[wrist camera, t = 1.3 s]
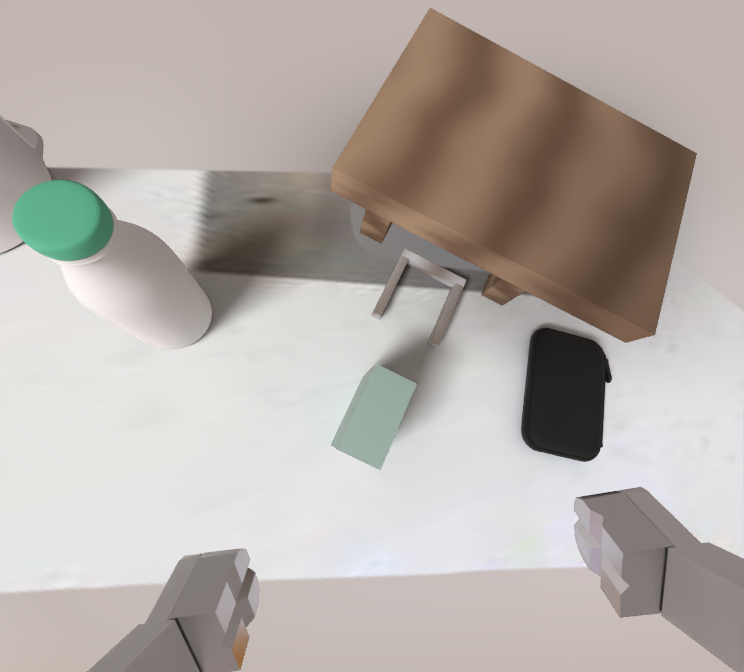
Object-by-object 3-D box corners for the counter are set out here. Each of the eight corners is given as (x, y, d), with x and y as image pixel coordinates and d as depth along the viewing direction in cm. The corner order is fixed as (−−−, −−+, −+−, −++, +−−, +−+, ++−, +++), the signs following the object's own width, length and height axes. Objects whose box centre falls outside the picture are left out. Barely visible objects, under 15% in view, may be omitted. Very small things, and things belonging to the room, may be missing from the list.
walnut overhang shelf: (318, 307, 43) (332, 167, 20) (369, 213, 47) (430, 7, 24) (472, 384, 44) (654, 334, 21) (509, 285, 48) (696, 153, 25)
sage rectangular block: (330, 444, 40) (337, 449, 31) (362, 377, 42) (377, 363, 33) (364, 461, 40) (380, 470, 31) (394, 392, 42) (417, 383, 33)
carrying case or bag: (596, 465, 44) (601, 348, 48) (616, 468, 41) (620, 342, 45) (513, 446, 43) (526, 327, 47) (528, 447, 40) (540, 320, 44)
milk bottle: (222, 291, 42) (150, 173, 22) (201, 358, 40) (102, 291, 20) (150, 274, 41) (11, 137, 22) (125, 342, 39) (-54, 257, 19)
